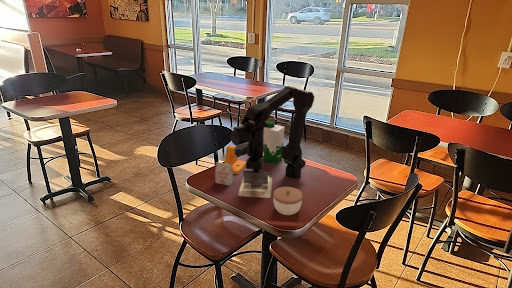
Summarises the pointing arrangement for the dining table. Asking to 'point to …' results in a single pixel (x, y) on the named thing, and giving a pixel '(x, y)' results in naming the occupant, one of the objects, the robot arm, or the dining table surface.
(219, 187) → the dining table surface
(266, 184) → the fixed leaf
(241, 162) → the bracket
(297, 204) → the lidded jar
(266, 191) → the mounting board
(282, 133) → the milk carton
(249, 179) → the loose leaf
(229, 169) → the white printed packet
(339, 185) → the dining table surface
